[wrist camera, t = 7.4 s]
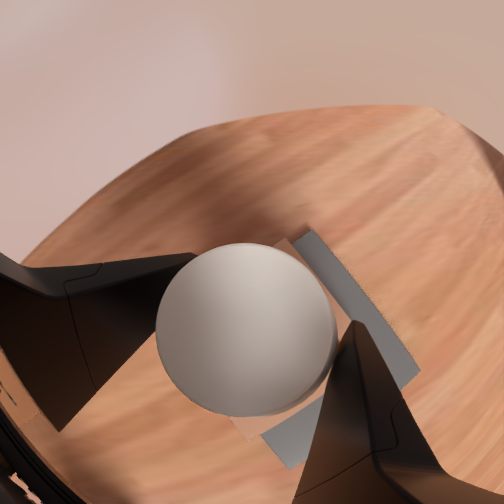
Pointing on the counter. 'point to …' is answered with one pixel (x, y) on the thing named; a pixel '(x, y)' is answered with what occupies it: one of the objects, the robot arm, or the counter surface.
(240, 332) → the supplement bottle
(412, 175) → the counter surface
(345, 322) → the socket stand
